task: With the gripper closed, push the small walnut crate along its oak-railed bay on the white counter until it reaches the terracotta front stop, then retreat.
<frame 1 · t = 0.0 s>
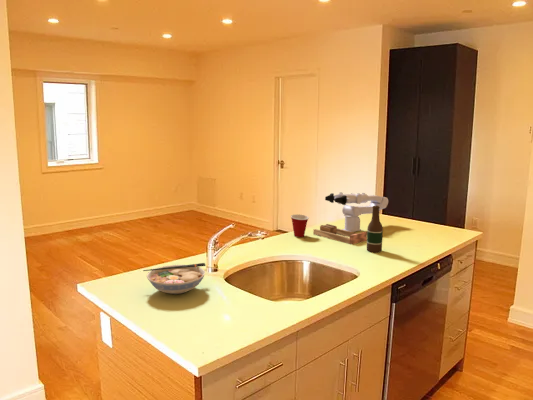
hand: (330, 199, 267), 22 cm above the worktop, tool horizontal, fingers open, 7 cm apart
bay: (338, 237, 267), on the worktop
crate: (328, 230, 273), point 3 cm above the worktop, slide at 0.0 cm
beer bottle: (374, 251, 239), on the worktop
plastic cup: (299, 236, 269), on the worktop
ramen bowl: (176, 291, 182), on the worktop
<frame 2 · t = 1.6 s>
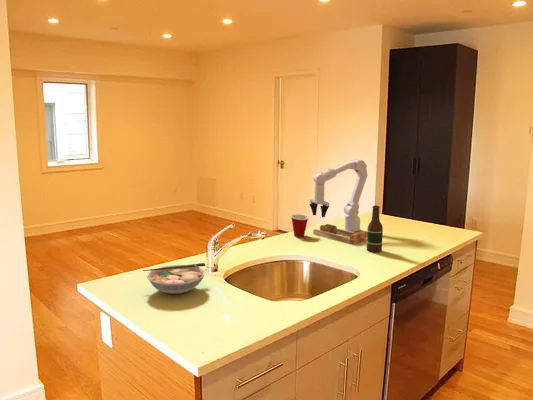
hand: (318, 216, 278), 10 cm above the worktop, tool pointing down, fingers open, 7 cm apart
nothing on the worktop moved.
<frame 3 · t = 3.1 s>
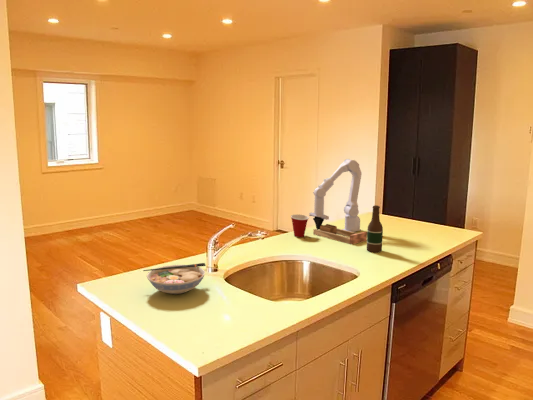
hand: (318, 229, 279), 2 cm above the worktop, tool pointing down, fingers closed
nothing on the worktop moved.
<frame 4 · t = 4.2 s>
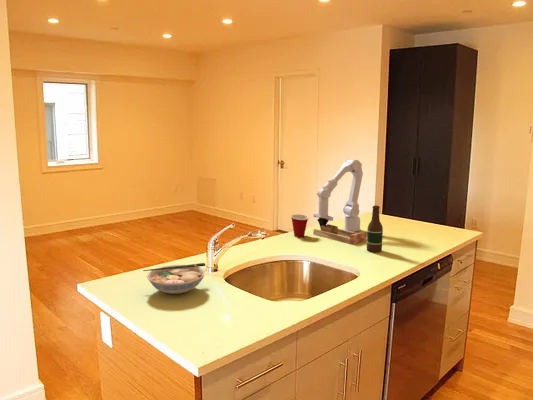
hand: (322, 230, 276), 2 cm above the worktop, tool pointing down, fingers closed
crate: (329, 230, 272), point 3 cm above the worktop, slide at 0.8 cm, touching gripper
everything else where it was.
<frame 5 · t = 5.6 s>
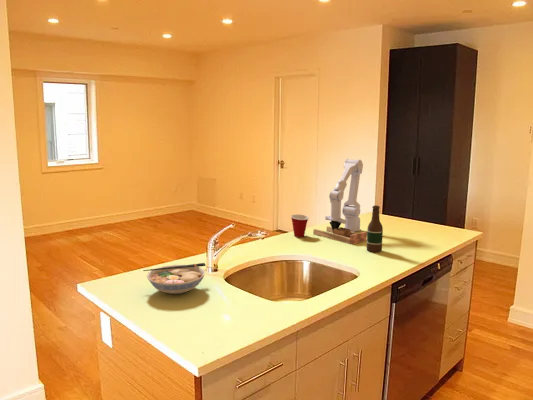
hand: (335, 233, 269), 2 cm above the worktop, tool pointing down, fingers closed
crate: (341, 233, 265), point 3 cm above the worktop, slide at 10.7 cm, touching gripper
everything else where it was.
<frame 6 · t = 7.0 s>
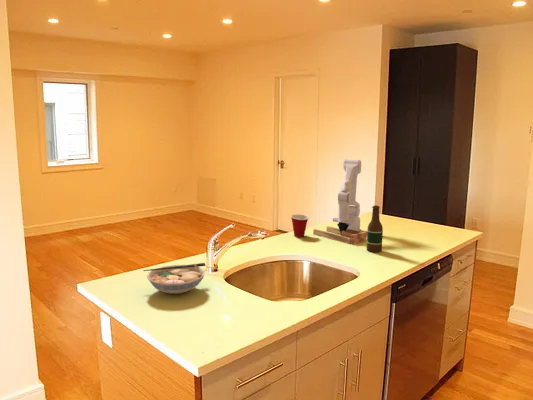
hand: (342, 235, 264), 2 cm above the worktop, tool pointing down, fingers closed
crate: (350, 235, 260), point 3 cm above the worktop, slide at 16.7 cm, touching gripper
everything else where it was.
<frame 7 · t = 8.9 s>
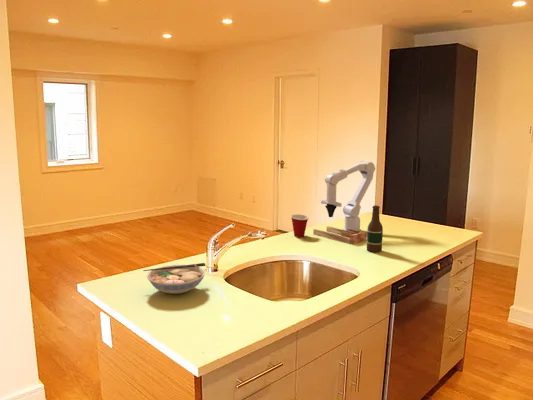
hand: (330, 216, 276), 10 cm above the worktop, tool pointing down, fingers closed
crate: (350, 235, 260), point 3 cm above the worktop, slide at 16.7 cm
everything else where it was.
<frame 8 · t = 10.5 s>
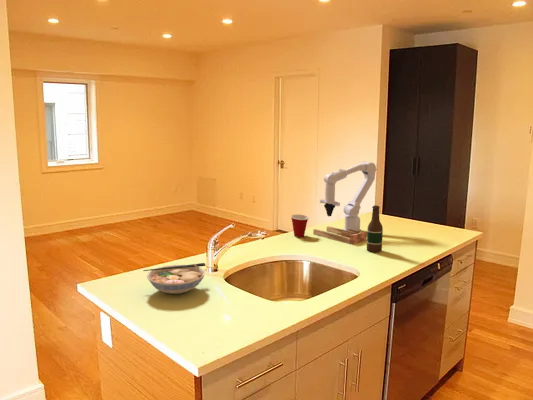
hand: (329, 216, 278), 10 cm above the worktop, tool pointing down, fingers closed
nothing on the worktop moved.
at the end: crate slide at 16.7 cm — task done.
